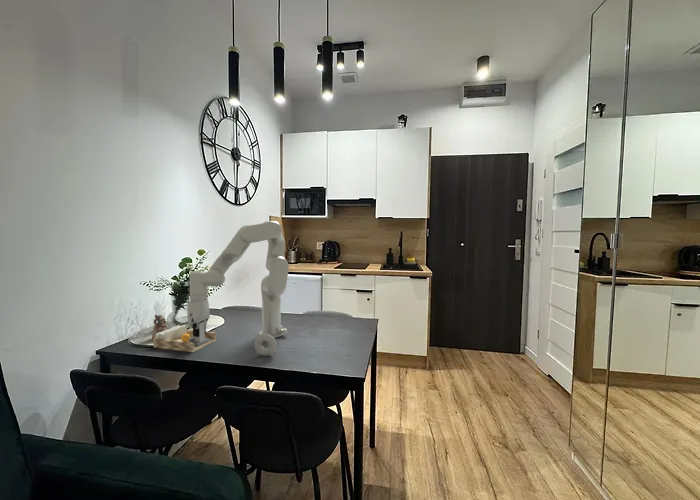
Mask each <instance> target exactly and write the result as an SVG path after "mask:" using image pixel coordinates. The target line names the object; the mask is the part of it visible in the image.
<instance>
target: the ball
mask: <svg viewBox="0 0 700 500" xmlns="http://www.w3.org/2000/svg"><path fill="white" fill-rule="evenodd" d="M189 339H190V335H189V334H187V333H185V334H183V335H182V336H181V340H182V341H183V342H187V341H189Z"/></svg>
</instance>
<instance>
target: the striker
mask: <svg viewBox="0 0 700 500" xmlns="http://www.w3.org/2000/svg"><path fill="white" fill-rule="evenodd" d="M195 325H196V323H195ZM198 328H199V330H200V336H199V337H192V338H190V339H189V342H190V343H194V346H200V345H202V344H204V343H206V342H208V341H210V339H208V338H205V322H202V321H200V322H199V327H198Z"/></svg>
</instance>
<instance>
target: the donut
mask: <svg viewBox="0 0 700 500" xmlns="http://www.w3.org/2000/svg"><path fill="white" fill-rule="evenodd" d="M263 342H267V343H268V347H264V346H263ZM253 347H254V350H255V352H257V354H258V355H260V356H264V357H268V356H271V355H273V354H274V352H275V351H276V349H277V340H276V338H274V337H273V336H272V335H270V334H261V335H259V334H258V336H256V338H255V340H254V344H253Z"/></svg>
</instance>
